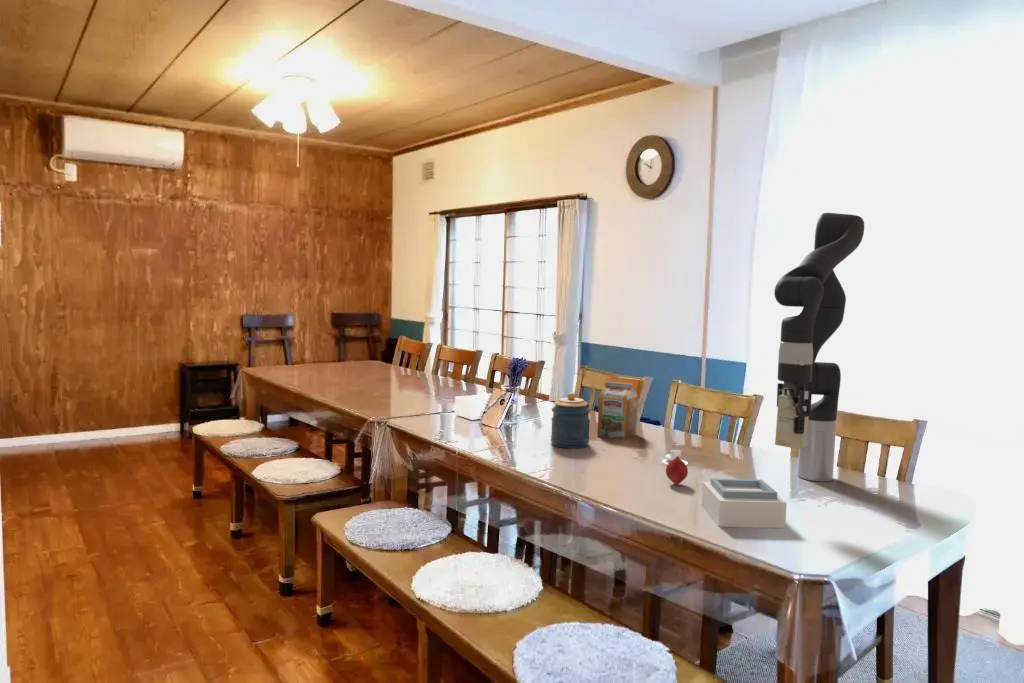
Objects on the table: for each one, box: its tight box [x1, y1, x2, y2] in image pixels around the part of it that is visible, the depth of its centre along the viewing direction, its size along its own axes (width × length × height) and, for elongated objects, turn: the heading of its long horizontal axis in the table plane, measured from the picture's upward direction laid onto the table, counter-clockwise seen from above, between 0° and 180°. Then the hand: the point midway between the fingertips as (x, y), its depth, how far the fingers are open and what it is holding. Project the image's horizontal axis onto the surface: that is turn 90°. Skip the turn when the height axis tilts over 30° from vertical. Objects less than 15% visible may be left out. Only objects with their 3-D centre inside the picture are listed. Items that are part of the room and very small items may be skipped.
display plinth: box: [701, 478, 788, 529], centre depth 165 cm, size 15×15×8 cm
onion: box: [665, 456, 689, 485], centre depth 190 cm, size 6×6×8 cm
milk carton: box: [597, 381, 639, 441], centre depth 249 cm, size 11×11×19 cm
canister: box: [550, 392, 591, 449], centre depth 233 cm, size 13×13×18 cm
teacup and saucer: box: [661, 449, 689, 466], centre depth 214 cm, size 9×8×4 cm
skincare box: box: [774, 395, 809, 450], centre depth 165 cm, size 6×4×12 cm
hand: (791, 430), depth 165 cm, fingers closed on skincare box, 7 cm apart
